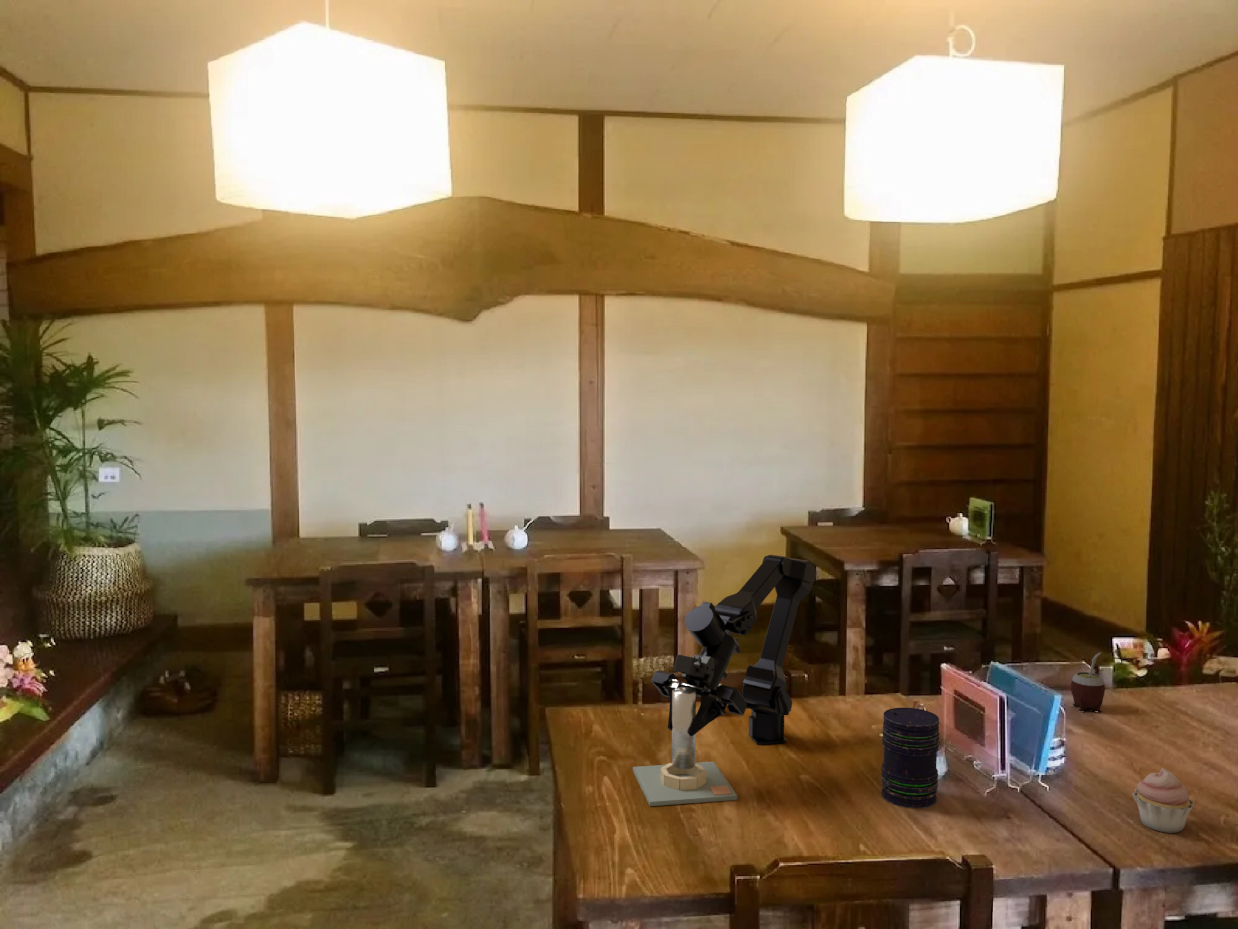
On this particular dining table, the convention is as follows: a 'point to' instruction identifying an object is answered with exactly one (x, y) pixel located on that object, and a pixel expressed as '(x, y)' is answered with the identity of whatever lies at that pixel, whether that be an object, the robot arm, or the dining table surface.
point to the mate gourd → (1088, 689)
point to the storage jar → (910, 757)
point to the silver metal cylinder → (683, 728)
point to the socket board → (683, 784)
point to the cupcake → (1163, 802)
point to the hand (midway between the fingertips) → (679, 732)
